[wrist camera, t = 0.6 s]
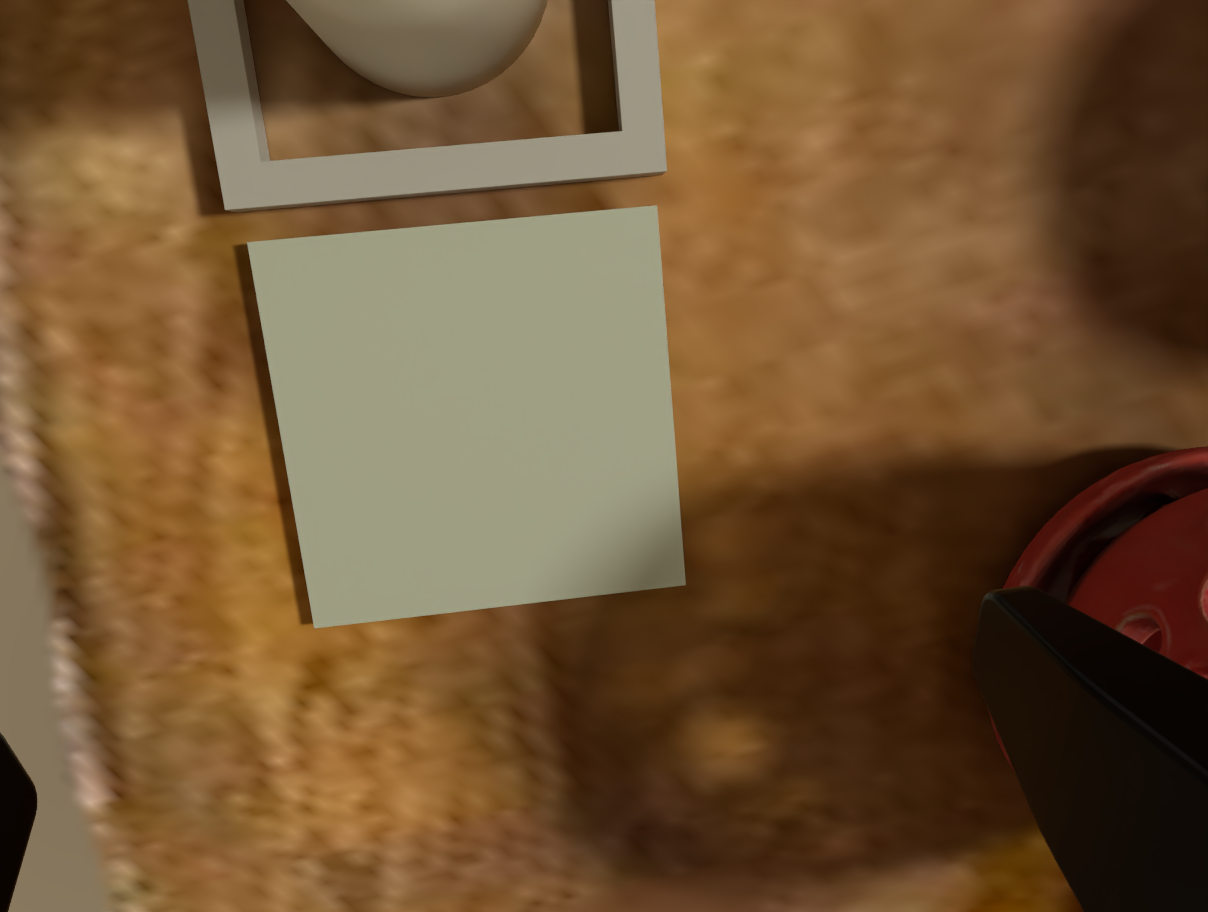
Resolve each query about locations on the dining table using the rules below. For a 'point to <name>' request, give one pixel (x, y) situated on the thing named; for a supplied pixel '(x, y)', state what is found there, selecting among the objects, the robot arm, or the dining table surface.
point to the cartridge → (425, 39)
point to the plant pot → (1133, 556)
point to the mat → (474, 412)
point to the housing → (424, 169)
